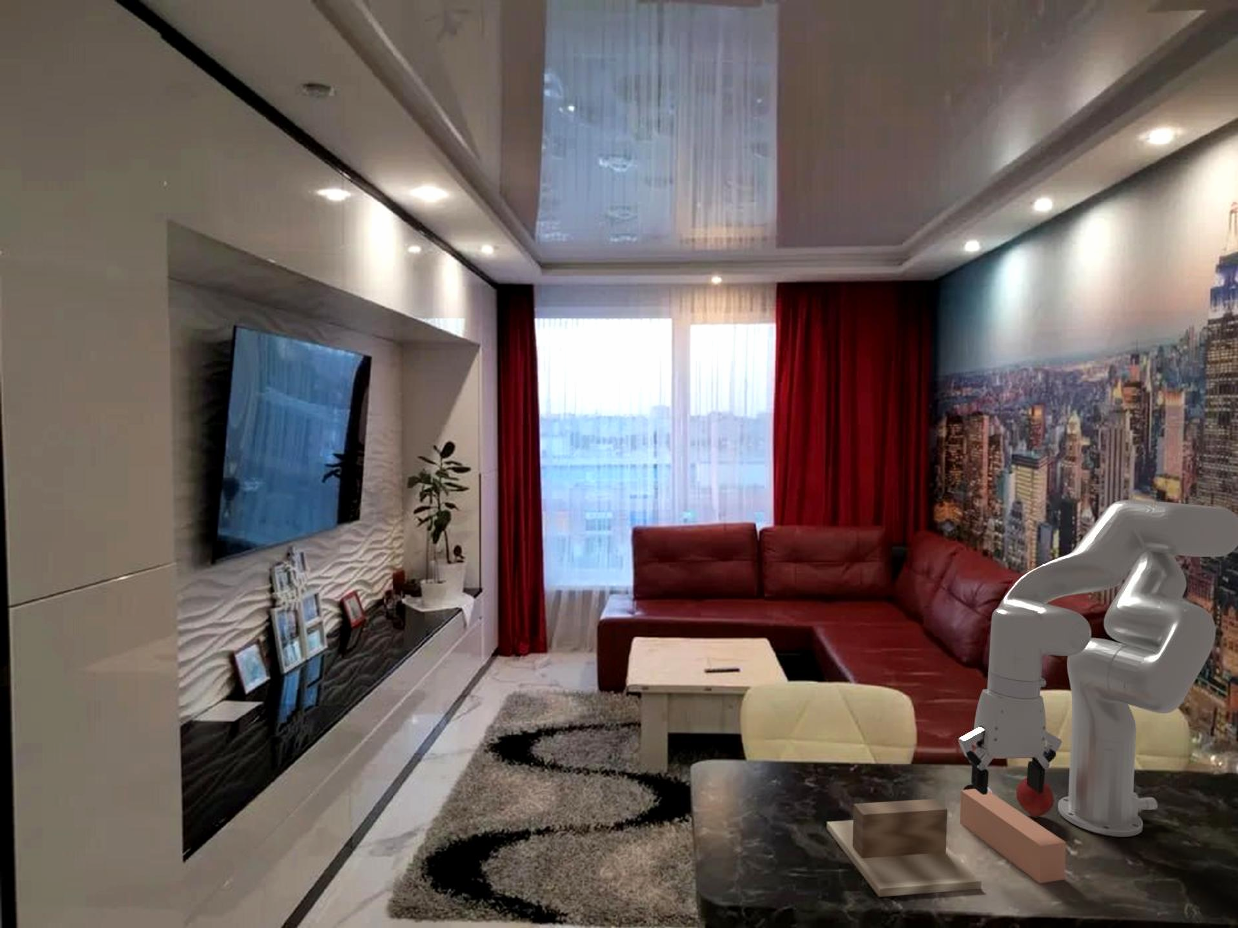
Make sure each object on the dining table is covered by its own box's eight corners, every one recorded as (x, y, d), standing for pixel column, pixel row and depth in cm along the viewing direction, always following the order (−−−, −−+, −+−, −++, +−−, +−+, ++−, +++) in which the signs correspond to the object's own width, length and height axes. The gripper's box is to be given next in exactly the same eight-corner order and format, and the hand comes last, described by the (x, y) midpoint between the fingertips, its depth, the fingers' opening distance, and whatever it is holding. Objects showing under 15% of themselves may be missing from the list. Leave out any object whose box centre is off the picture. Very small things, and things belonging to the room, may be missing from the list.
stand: (915, 822, 133) (916, 776, 133) (980, 888, 115) (982, 834, 114) (826, 828, 131) (828, 781, 131) (879, 896, 112) (880, 841, 112)
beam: (982, 821, 135) (983, 787, 134) (1064, 880, 117) (1065, 842, 117) (959, 824, 134) (961, 790, 133) (1039, 884, 116) (1041, 845, 116)
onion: (1008, 812, 137) (1009, 768, 137) (1030, 806, 140) (1032, 762, 139) (1037, 828, 132) (1039, 782, 132) (1060, 821, 134) (1062, 776, 134)
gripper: (1046, 677, 129) (1040, 778, 129) (950, 678, 126) (944, 780, 127) (1079, 693, 121) (1072, 799, 122) (977, 693, 119) (971, 802, 120)
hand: (1007, 789), depth 124 cm, fingers open, 9 cm apart
